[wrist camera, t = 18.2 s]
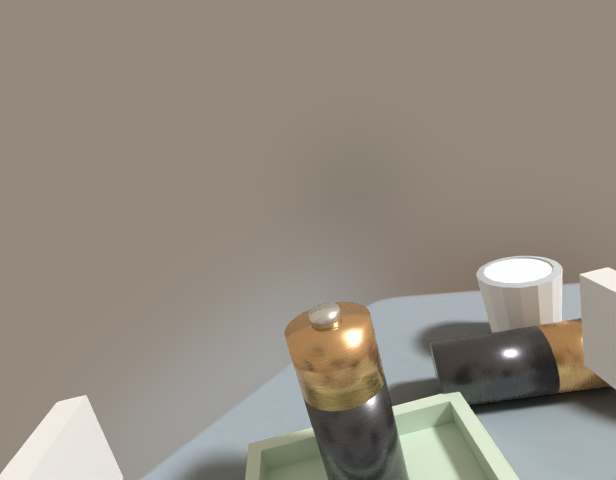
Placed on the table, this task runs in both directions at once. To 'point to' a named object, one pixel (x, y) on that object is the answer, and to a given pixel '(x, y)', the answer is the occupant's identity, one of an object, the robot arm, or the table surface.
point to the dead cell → (514, 363)
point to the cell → (346, 392)
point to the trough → (414, 441)
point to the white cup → (521, 292)
